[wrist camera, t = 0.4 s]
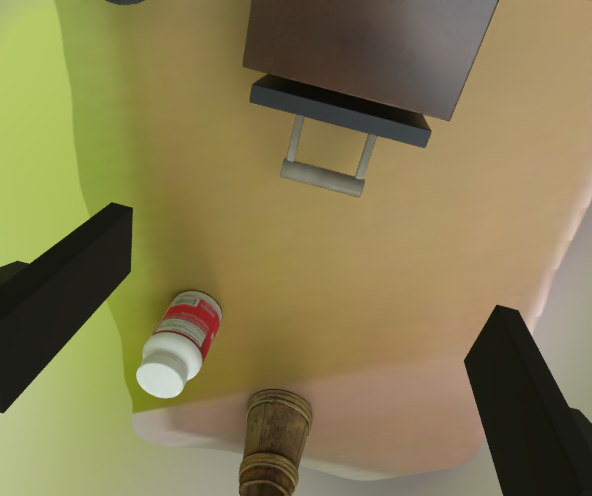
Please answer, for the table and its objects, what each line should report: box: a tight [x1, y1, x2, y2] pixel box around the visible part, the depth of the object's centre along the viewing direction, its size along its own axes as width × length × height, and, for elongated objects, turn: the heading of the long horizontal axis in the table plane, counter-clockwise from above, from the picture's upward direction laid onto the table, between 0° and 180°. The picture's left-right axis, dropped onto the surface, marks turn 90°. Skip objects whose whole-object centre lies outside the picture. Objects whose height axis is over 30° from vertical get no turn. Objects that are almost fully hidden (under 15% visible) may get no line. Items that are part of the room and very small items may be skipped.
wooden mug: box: [239, 390, 312, 496], centre depth 50 cm, size 9×14×18 cm, turn 170°
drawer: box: [250, 74, 431, 198], centre depth 30 cm, size 20×12×8 cm, turn 167°
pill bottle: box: [136, 291, 222, 398], centre depth 45 cm, size 6×6×11 cm
